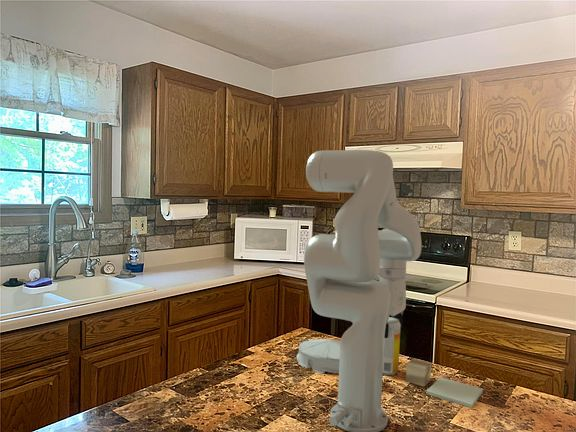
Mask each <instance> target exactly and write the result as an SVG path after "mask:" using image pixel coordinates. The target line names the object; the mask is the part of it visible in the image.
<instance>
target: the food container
mask: <svg viewBox="0 0 576 432" xmlns="http://www.w3.org/2000/svg"><path fill="white" fill-rule="evenodd" d="M340 341H341V340H336V339H331V338H330V339H329V338H315V339H313V338H310V340H303V341H302V342H300V344H299V345H298V353H297V354H296V360H297V362H298V364H299V365H300V366H301V367H302V368H304V367H305V368H304V369H307V368H308V369H312V371H314V373H319V374H324V373H325V372H327V373H331V374H339V361H340Z"/></svg>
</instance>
